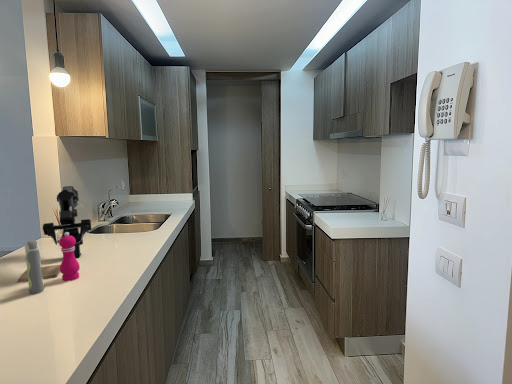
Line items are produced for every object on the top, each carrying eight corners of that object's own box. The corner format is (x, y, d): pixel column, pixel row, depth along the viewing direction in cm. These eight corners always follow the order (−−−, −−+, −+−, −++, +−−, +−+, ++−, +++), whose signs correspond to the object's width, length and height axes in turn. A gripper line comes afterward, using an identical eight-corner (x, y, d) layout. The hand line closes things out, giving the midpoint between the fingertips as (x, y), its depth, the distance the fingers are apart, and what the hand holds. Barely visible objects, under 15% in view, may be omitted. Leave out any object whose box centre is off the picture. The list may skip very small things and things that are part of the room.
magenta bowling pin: (76, 273, 143) (72, 229, 140) (83, 277, 138) (79, 231, 136) (58, 279, 137) (53, 232, 135) (65, 283, 133) (60, 235, 130)
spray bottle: (41, 287, 128) (36, 238, 126) (46, 291, 125) (40, 240, 123) (27, 292, 124) (21, 241, 122) (31, 295, 121) (25, 243, 119)
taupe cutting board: (63, 266, 152) (62, 264, 152) (56, 277, 139) (56, 274, 139) (27, 271, 147) (27, 268, 147) (17, 282, 134) (17, 279, 134)
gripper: (40, 205, 141) (40, 235, 133) (89, 201, 150) (91, 230, 141) (44, 220, 149) (44, 249, 141) (90, 215, 158) (92, 243, 149)
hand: (68, 242), depth 143 cm, fingers open, 9 cm apart
